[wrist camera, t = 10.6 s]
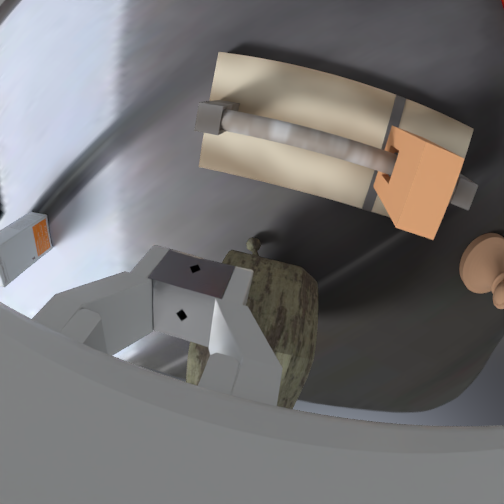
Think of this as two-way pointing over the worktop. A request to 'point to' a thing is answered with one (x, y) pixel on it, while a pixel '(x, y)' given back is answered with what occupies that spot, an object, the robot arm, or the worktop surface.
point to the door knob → (485, 266)
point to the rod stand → (314, 130)
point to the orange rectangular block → (417, 182)
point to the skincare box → (23, 245)
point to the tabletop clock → (275, 319)
